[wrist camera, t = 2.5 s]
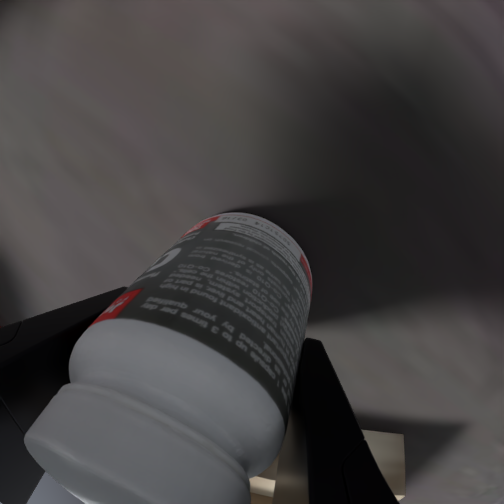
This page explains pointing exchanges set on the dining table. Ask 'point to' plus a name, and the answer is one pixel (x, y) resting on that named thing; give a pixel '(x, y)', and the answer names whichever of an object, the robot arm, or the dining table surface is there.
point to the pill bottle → (184, 373)
